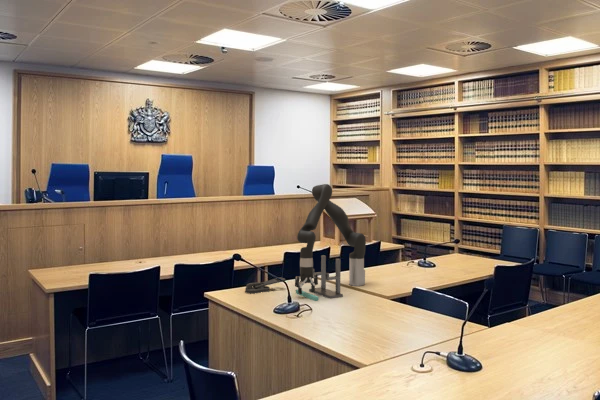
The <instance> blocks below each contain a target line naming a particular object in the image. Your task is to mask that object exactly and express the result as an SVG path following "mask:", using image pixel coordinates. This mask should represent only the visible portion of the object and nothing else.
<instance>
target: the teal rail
mask: <svg viewBox="0 0 600 400" xmlns="http://www.w3.org/2000/svg"><path fill="white" fill-rule="evenodd" d="M296 293H297V295H298V296H302V297H305V298H306V299H309V300H311V301H314V302H316V301H317V302H319V301H320V300H319V299H320V298H319V297H320V296H317V295H315V294H313V293H311V292H310V293H309V292H307V291H304V290H302V294H301V295H300V294H299V293H298V289H296V290H295V294H296ZM318 300H319V301H318Z"/></svg>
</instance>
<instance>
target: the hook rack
mask: <svg viewBox="0 0 600 400" xmlns="http://www.w3.org/2000/svg"><path fill="white" fill-rule="evenodd" d="M320 258H321V259H320V260H321V261H320V269H321V270H320V271H318V272H315V268H313V275H314V274H316V275H318V276H320V286H319V287H315V291H314V295H315V294H316V295H319V296H321V297H324V298H327V299H329V300H330V299H331V300H332V299H338V298H342V297H344V294H343V293H341V258H335V275H333V276H332V275H331V276H330V272H327V271H326V270H327V268H326V267H327V264H326V261H327V256H326V255H324V254H323V255H320ZM333 280H334V281H335V290H332V289H328V288H327V287H326V286H327V285H326V283H327V282H326V281H333ZM308 291H309V292H310V293H312V292H311V288H308Z"/></svg>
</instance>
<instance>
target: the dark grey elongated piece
mask: <svg viewBox="0 0 600 400" xmlns="http://www.w3.org/2000/svg"><path fill="white" fill-rule="evenodd" d="M277 278H280V279H282V280H284V281H283V282H286V281H287V280H286V278H284V277H282V276H281V277H279V276H278V277H276V278H273V279H270V280H265V281H261V282H259V281H258V282H250V283H247V284H246V285H245V289H244V291H245V294H249V295H252V294H254V295H255V293H256V294H259V293H261V292H262V293H267V292H268V291H269V292H270V286H271V285H273V284H278V283H282V281H280V280H279V279H277ZM269 292H268V293H269Z"/></svg>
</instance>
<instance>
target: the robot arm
mask: <svg viewBox="0 0 600 400" xmlns="http://www.w3.org/2000/svg"><path fill="white" fill-rule="evenodd" d="M311 194H312V197H313V198H314V200H315V201H316V202H317V203H316V204H315V205H314V207H313V208H312V209H311V210H310V211H309V213H308V214H307V218H306V219H305V222H304V224H303V225H302V227H301V228H300V229H299V231H298V232H297V236H296V237H297V238H296V239H297V241H298V243H301V244H306V246H304V247H303V246H302V247H301V248H300V252H299V253H300V254H299V255H300V257H299V276H297V275H296V276H295V278H294V279H295V280H294V286H295V287H296V288H297V290H298V293H299V294H300V295H299V294H298V295H299V296H301V294H302V291H303V290H302V287H303V286H304V285H305V284H310V285H311V287H310V289H311V292H310V293H311V294H313V293H314V291H315V288H316V286H317V285H319V278H318V277H319V275H316V274H314V275H313V269H314V259H313V255H314V254H313V251H314V250H313V249H314V246H315V243H316V233H315V232H314V230H315V231H316V228H317V226H318V224H319V221H320V218H321V216H322V214H323V212H324V211H325V213H326V214H327V215H328V216H329V218H330V219H331V221H332V222H333V224H335V226H336V227H337V229H338V230H339V232H340V233H341V235H342V236H343V238H344V240H345V241H346V243H347V245H348V246H350V247H353V248H354V249H353V251H352V252H350V253H349V257H348V258H349V259H348V260H349V268H348V269H349V274H348V275H349V277H348V279H349V280H348V283H349V286H353V287H360V286H361V287H362V286H365V285H366V270H365V255H366V247H367V246H366V242H367V241H366V236H365V235H364V234H363V233H360V232H355V231H354V230H353V229H352V228H351V226H350V224H349V223H350V222H349V221H350V220H349V217H348V215H347V214H346V212H345V211H344V209H343V208H342V207H340V206H339V205H337V204H336V203H334V202H333V201H331V198H332V195H333V188H332V186H331V185H330V184H328V183H322V184H317V185H314V186H313V187H312V189H311ZM295 287H294V288H295ZM314 294H315V293H314Z"/></svg>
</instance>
